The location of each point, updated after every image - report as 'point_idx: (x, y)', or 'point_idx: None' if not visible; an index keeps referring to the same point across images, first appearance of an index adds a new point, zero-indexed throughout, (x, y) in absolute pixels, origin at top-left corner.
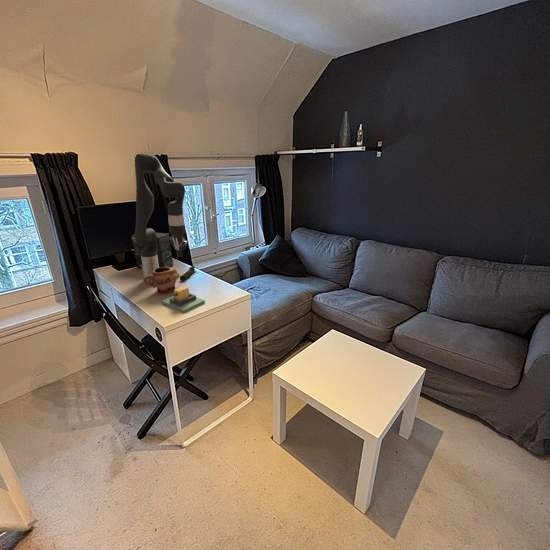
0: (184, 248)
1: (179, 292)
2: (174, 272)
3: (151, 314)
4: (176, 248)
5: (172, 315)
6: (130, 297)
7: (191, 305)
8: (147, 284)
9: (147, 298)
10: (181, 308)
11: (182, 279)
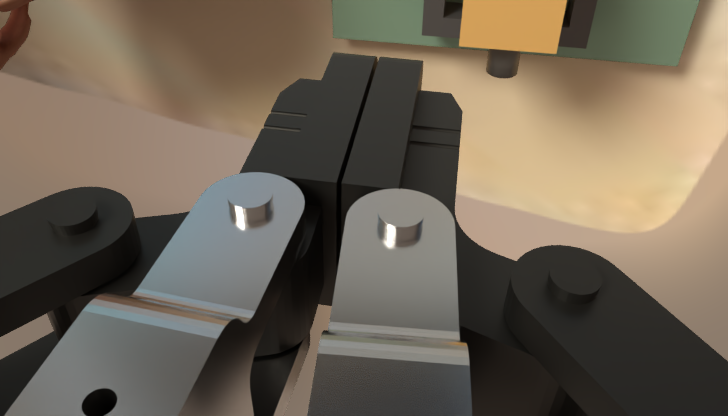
0: (624, 300)
1: (557, 43)
2: None
3: None
4: (287, 356)
5: (601, 130)
6: (38, 82)
7: None
8: (27, 21)
9: (148, 24)
10: (631, 54)
11: None
